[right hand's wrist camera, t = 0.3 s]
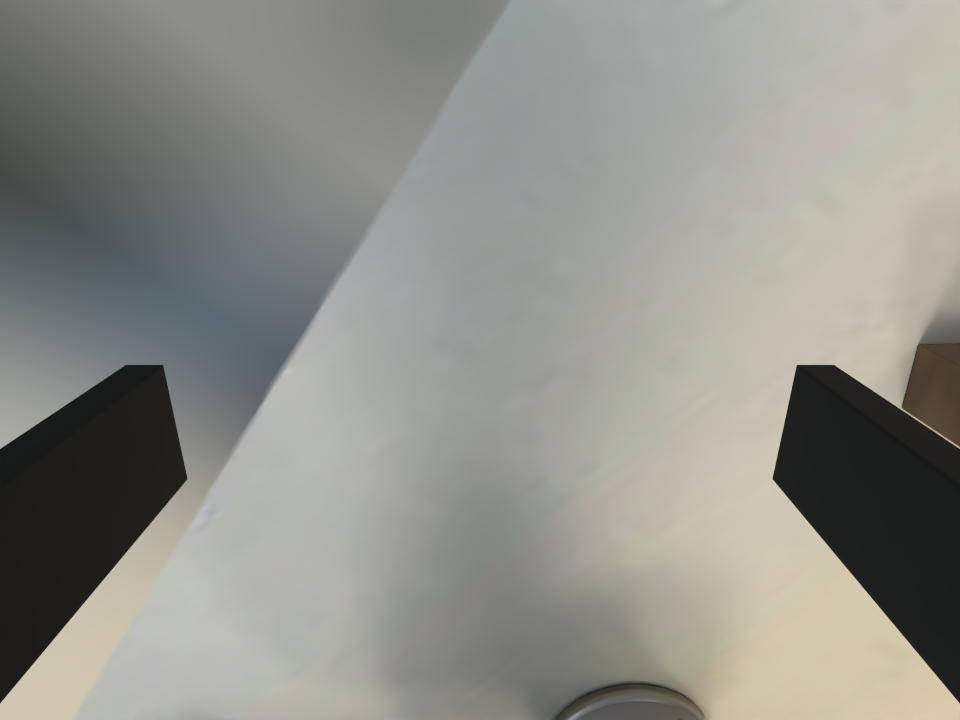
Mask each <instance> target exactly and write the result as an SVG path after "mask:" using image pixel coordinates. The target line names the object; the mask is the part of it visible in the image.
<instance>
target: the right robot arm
mask: <svg viewBox="0 0 960 720" xmlns="http://www.w3.org/2000/svg"><path fill="white" fill-rule="evenodd" d="M186 480H187V475H186V470H185V466H184V461H183V456H182V452H181V447H180V442H179V438H178V433H177V428H176V424H175V419H174V414H173V410H172V405H171V400H170V396H169V391H168V386H167V381H166V377H165V372H164V367H163V365H125V366H124V367H122V368H121V369H119V370H118V371H116V372H115V373H113V374H112V375H111V376H109V377H107V378H106V379H104V380H103V381H101V382H100V383H98V384H97V385H95V386H94V387H92V388H91V389H89V390H88V391H86V392H85V393H84V394H82V395H80V396H79V397H77V398H76V399H74V400H73V401H72V402H70V403H69V404H67V405H66V406H64V407H63V408H61V409H60V410H58V411H57V412H55V413H54V414H52V415H51V416H49V417H48V418H46V419H45V420H43V421H42V422H40V423H39V424H37V425H36V426H34V427H33V428H31V429H30V430H28V431H27V432H25V433H24V434H22V435H21V436H19V437H18V438H16V439H15V440H13V441H12V442H10V443H9V444H7V445H6V446H4V447H3V448H1V449H0V703H1V702H2V700H3V699H4V698H5V697H6V696H7V694H8V693H9V692H10V691H11V690H12V688H13V687H14V686H15V685H16V684H17V683H18V681H19V680H20V679H21V678H22V677H23V675H24V674H25V673H26V672H27V671H28V669H29V668H30V667H31V666H32V665H33V663H34V662H35V661H36V660H37V659H38V657H39V656H40V655H41V654H42V652H43V651H44V650H45V649H46V648H47V646H48V645H49V644H50V643H51V642H52V641H53V639H54V638H55V637H56V636H57V635H58V633H59V632H60V631H61V630H62V629H63V627H64V626H65V625H66V624H67V623H68V621H69V620H70V619H71V618H72V617H73V615H74V614H75V613H76V612H77V611H78V609H79V608H80V607H81V606H82V605H83V603H84V602H85V601H86V600H87V599H88V597H89V596H90V595H91V594H92V593H93V591H94V590H95V589H96V588H97V587H98V585H99V584H100V583H101V582H102V581H103V580H104V578H105V577H106V576H107V575H108V574H109V572H110V571H111V570H112V569H113V568H114V566H115V565H116V564H117V563H118V561H119V560H120V559H121V558H122V557H123V555H124V554H125V553H126V552H127V551H128V550H129V548H130V547H131V546H132V545H133V544H134V542H135V541H136V540H137V539H138V538H139V536H140V535H141V534H142V533H143V532H144V530H145V529H146V528H147V527H148V526H149V524H150V523H151V522H152V521H153V520H154V518H155V517H156V516H157V515H158V514H159V512H160V511H161V510H162V509H163V508H164V506H165V505H166V504H167V503H168V502H169V500H170V499H171V498H172V497H173V496H174V494H175V493H176V492H177V491H178V490H179V488H180V487H181V486H182V485H183V484H184V482H185V481H186ZM773 480H774V481H775V483H776V484H777V485H778V486H779V487H780V488H781V490H782V491H783V492H784V493H785V494H786V496H787V497H788V498H789V499H790V500H791V502H792V503H793V504H794V505H795V506H796V508H797V509H798V510H799V511H800V512H801V514H802V515H803V516H804V517H805V518H806V520H807V521H808V522H809V523H810V524H811V526H812V527H813V528H814V529H815V530H816V532H817V533H818V534H819V535H820V536H821V538H822V539H823V540H824V541H825V542H826V544H827V545H828V546H829V547H830V548H831V550H832V551H833V552H834V553H835V554H836V556H837V557H838V558H839V559H840V560H841V562H842V563H843V564H844V565H845V566H846V568H847V569H848V570H849V571H850V572H851V574H852V575H853V576H854V577H855V578H856V580H857V581H858V582H859V583H860V584H861V585H862V587H863V588H864V589H865V590H866V591H867V593H868V594H869V595H870V596H871V597H872V599H873V600H874V601H875V602H876V603H877V605H878V606H879V607H880V608H881V609H882V611H883V612H884V613H885V614H886V615H887V617H888V618H889V619H890V620H891V621H892V623H893V624H894V625H895V626H896V627H897V629H898V630H899V631H900V632H901V633H902V635H903V636H904V637H905V638H906V639H907V641H908V642H909V643H910V644H911V645H912V647H913V648H914V649H915V650H916V651H917V653H918V654H919V655H920V656H921V657H922V659H923V660H924V661H925V662H926V663H927V665H928V666H929V667H930V668H931V669H932V671H933V672H934V673H935V674H936V675H937V677H938V678H939V679H940V680H941V681H942V683H943V684H944V685H945V686H946V687H947V688H948V690H949V691H950V692H951V693H952V694H953V696H954V697H955V698H956V699H957V700H958V702H959V703H960V449H959V448H957V447H956V446H954V445H953V444H951V443H950V442H948V441H947V440H945V439H944V438H942V437H941V436H939V435H938V434H936V433H935V432H933V431H932V430H930V429H929V428H927V427H926V426H924V425H923V424H921V423H920V422H918V421H917V420H915V419H914V418H912V417H911V416H909V415H908V414H906V413H905V412H903V411H902V410H900V409H899V408H897V407H896V406H894V405H893V404H891V403H890V402H888V401H887V400H886V399H884V398H883V397H881V396H880V395H878V394H877V393H875V392H874V391H872V390H871V389H869V388H868V387H866V386H865V385H863V384H862V383H860V382H859V381H857V380H856V379H854V378H853V377H851V376H850V375H848V374H847V373H845V372H844V371H842V370H841V369H839V368H838V367H836V366H835V365H797V367H796V372H795V377H794V381H793V386H792V391H791V395H790V400H789V405H788V410H787V414H786V419H785V424H784V428H783V433H782V438H781V442H780V447H779V452H778V456H777V461H776V466H775V470H774V475H773ZM556 720H706V719H705V718H704V716H703V714H702V713H701V711H700V710H699V709H698V708H697V707H696V705H694V704H693V703H692V702H691V701H690V700H688V699H687V698H685V697H683V696H682V695H680V694H678V693H675V692H673V691H670V690H667V689H664V688H660V687H656V686H649V685H622V686H615V687H610V688H606V689H602V690H599V691H596V692H593V693H591V694H589V695H586V696H584V697H582V698H581V699H579V700H577V701H576V702H574V703H572V704H571V705H570V706H569V707H567V708H566V709H565V710H564V711H563V712H562V713H561V714H560V715H559V716H558V718H557V719H556Z"/></svg>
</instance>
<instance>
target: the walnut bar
mask: <svg viewBox="0 0 960 720" xmlns="http://www.w3.org/2000/svg"><path fill="white" fill-rule="evenodd" d="M902 409H904V410H905V411H907V412H908V413H910V414H911V415H913V416H914V417H916V418H917V419H919V420H920V421H922V422H923V423H925V424H926V425H928V426H929V427H931V428H932V429H934V430H935V431H937V432H938V433H940V434H941V435H943V436H944V437H946V438H947V439H949V440H950V441H952V442H953V443H955V444H956V445H958V446H959V447H960V344H930V345H918V349H917V353H916V357H915V361H914V364H913V368H912V372H911V376H910V380H909V384H908V388H907V392H906V396H905V400H904V403H903V407H902Z"/></svg>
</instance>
